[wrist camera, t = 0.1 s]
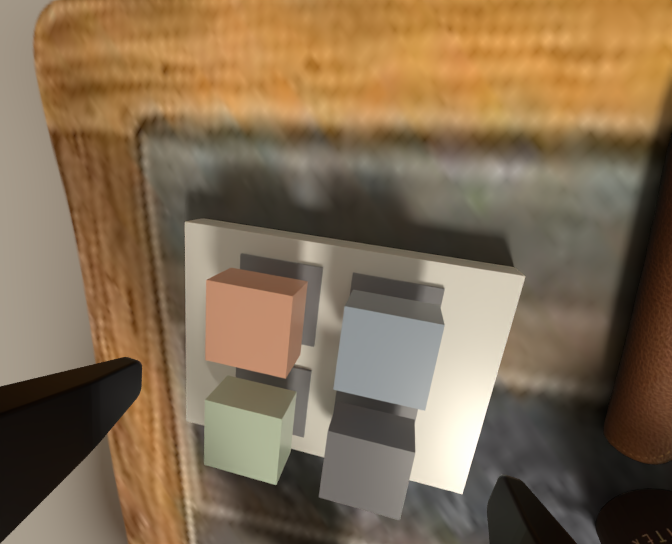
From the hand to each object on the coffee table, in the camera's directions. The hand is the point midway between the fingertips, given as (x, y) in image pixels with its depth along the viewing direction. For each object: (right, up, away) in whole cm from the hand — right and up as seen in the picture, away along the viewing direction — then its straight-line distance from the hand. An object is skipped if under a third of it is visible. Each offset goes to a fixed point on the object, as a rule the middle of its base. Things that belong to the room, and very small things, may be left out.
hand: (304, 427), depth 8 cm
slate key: (+4, 0, +10) cm, 11 cm away
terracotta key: (-3, +1, +11) cm, 12 cm away
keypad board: (+1, -1, +16) cm, 16 cm away
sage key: (-4, -5, +13) cm, 15 cm away
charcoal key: (+3, -6, +12) cm, 14 cm away
